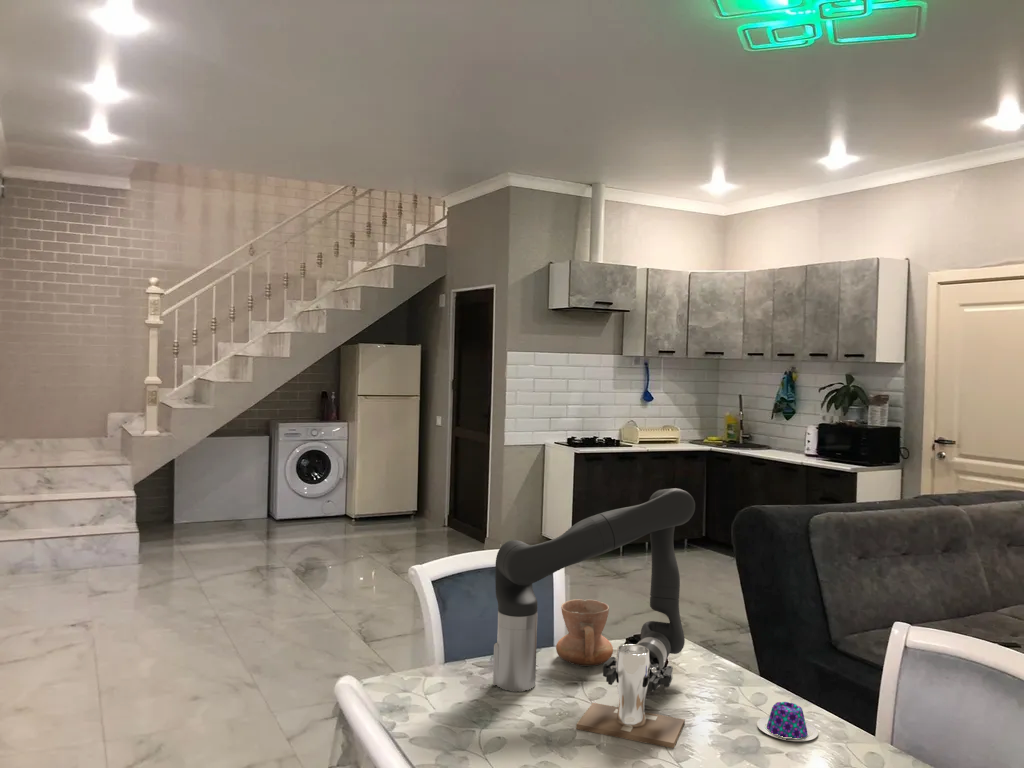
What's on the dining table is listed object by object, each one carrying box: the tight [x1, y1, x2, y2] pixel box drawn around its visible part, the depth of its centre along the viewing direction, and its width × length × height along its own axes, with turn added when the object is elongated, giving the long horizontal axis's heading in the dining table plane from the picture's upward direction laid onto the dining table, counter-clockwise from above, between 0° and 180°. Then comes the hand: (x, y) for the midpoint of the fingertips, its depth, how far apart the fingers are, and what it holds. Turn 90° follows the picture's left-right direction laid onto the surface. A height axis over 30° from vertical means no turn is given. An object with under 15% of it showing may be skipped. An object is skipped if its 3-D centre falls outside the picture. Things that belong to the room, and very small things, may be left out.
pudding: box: [756, 701, 819, 742], centre depth 166 cm, size 12×12×5 cm
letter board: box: [575, 702, 686, 749], centre depth 166 cm, size 20×12×1 cm, turn 68°
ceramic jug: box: [555, 598, 614, 667], centre depth 203 cm, size 18×14×14 cm
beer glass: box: [615, 643, 650, 727], centre depth 166 cm, size 7×7×15 cm
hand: (630, 683), depth 164 cm, fingers open, 8 cm apart
